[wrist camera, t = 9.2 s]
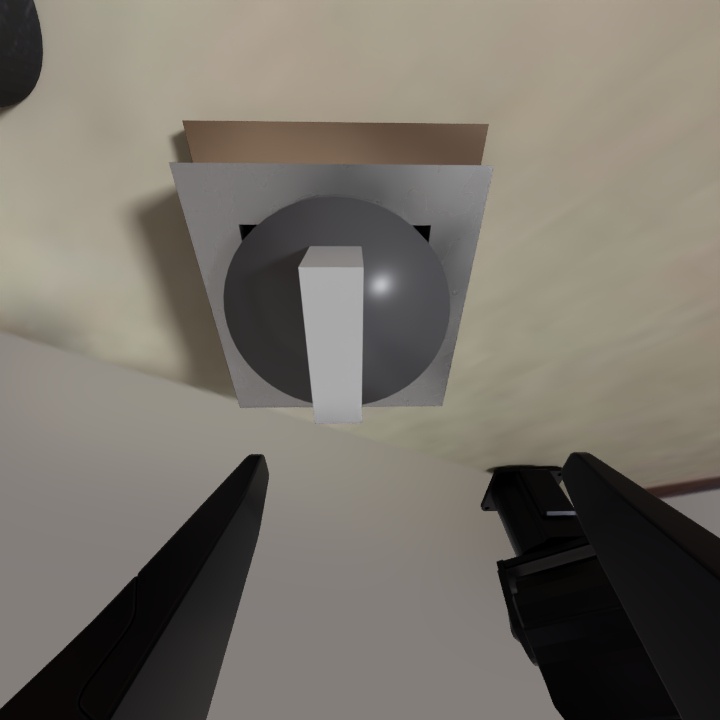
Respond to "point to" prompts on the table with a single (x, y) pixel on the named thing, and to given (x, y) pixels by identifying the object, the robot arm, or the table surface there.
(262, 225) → the grey disc with handle
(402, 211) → the hollow square frame
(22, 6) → the travel mug
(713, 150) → the table surface
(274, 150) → the walnut plate
